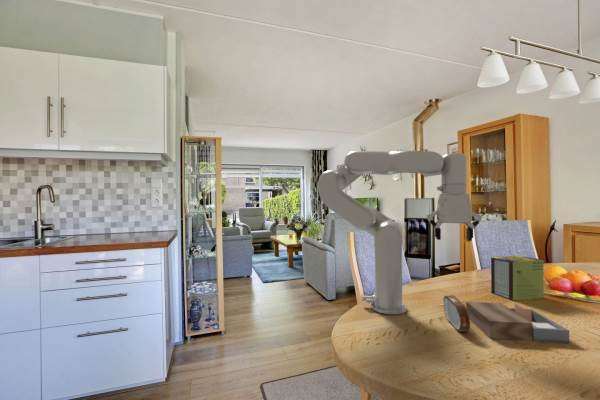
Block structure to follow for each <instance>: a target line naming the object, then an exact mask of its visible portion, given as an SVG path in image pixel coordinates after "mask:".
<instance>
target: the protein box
mask: <svg viewBox="0 0 600 400" xmlns="http://www.w3.org/2000/svg"><path fill="white" fill-rule="evenodd" d="M544 263H545V262H544V259H540V258H535V257H531V256H530V257H529V256H525V255H504V256H502V255H501V256H491V257H490V270H491V271H490V273H491V274H490V275H491V278H490V279H491V281H490V283H491V284H490V286H491V287H490V288H491V294H493V295H496V296H499V297H502V298H503V299H507V300H510V301H513V302H514V301H525V300H535V299H536V300H537V299H544V298H545V297H544V296H545V295H544V294H545V293H544V274H545V273H544V271H545V270H544Z"/></svg>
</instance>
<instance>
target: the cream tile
mask: <svg viewBox="0 0 600 400" xmlns="http://www.w3.org/2000/svg"><path fill="white" fill-rule="evenodd" d="M531 323H532V326H533V327H535V328H554V329H557V328H555V327H553V326H552V325H550V324H548V323H535V322H531Z"/></svg>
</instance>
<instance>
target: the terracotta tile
mask: <svg viewBox="0 0 600 400" xmlns="http://www.w3.org/2000/svg"><path fill="white" fill-rule="evenodd" d="M514 308H515V312H516V313H517V314H519V315H520V316H522V317H523V318H525V319H527V320H528V321H530V322H532V314H531V309H532V308H530V307H528V306H526V305H524V304H523V303H514Z"/></svg>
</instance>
